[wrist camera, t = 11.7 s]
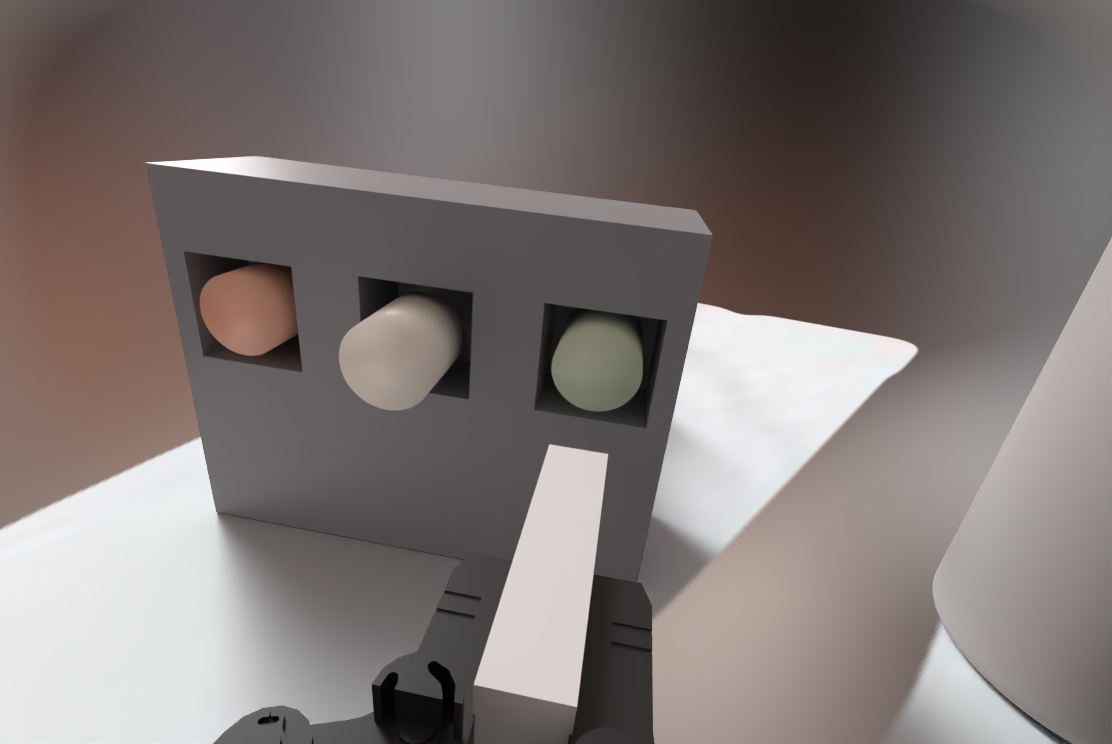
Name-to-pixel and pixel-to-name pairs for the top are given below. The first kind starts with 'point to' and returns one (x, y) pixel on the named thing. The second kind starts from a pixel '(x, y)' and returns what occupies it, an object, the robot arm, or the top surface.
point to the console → (472, 380)
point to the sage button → (599, 359)
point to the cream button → (401, 350)
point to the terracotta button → (251, 308)
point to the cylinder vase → (1046, 540)
